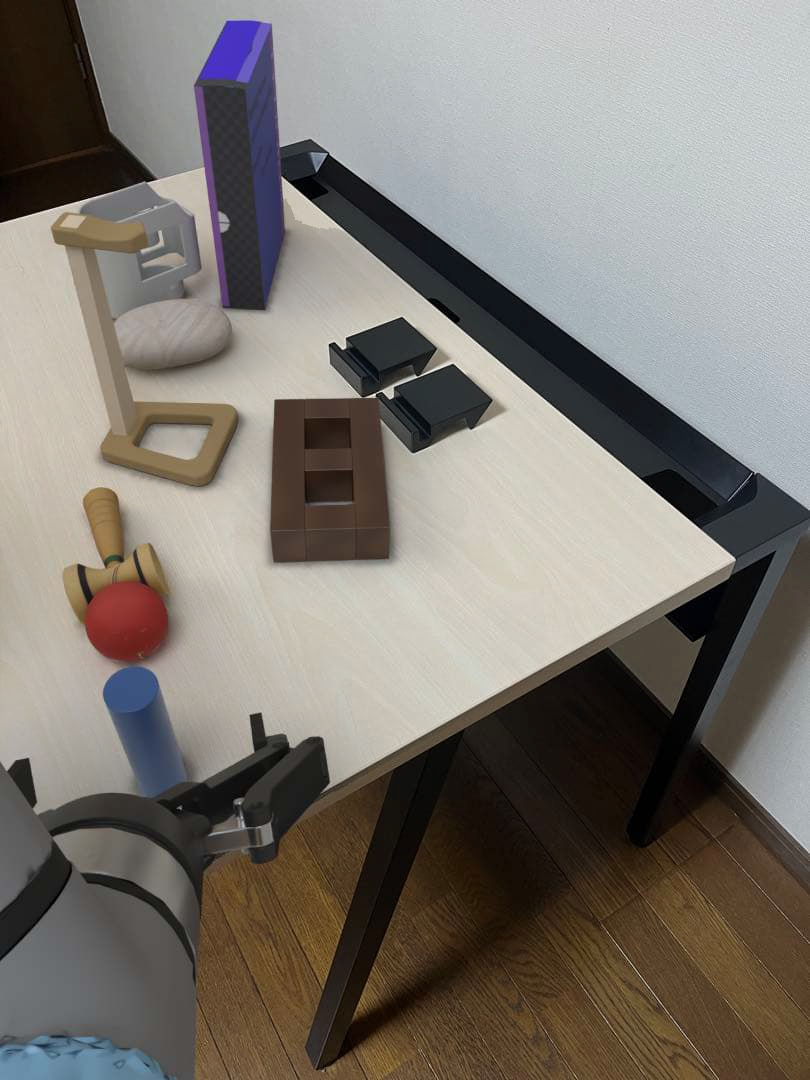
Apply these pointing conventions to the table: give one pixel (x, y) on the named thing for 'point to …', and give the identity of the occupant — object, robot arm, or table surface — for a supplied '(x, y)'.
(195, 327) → the decorative stone
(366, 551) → the rack
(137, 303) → the cable organizer
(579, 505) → the table surface
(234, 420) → the headphone stand
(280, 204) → the cereal box
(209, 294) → the table surface
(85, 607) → the kendama
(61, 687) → the table surface
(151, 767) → the peg
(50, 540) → the table surface
